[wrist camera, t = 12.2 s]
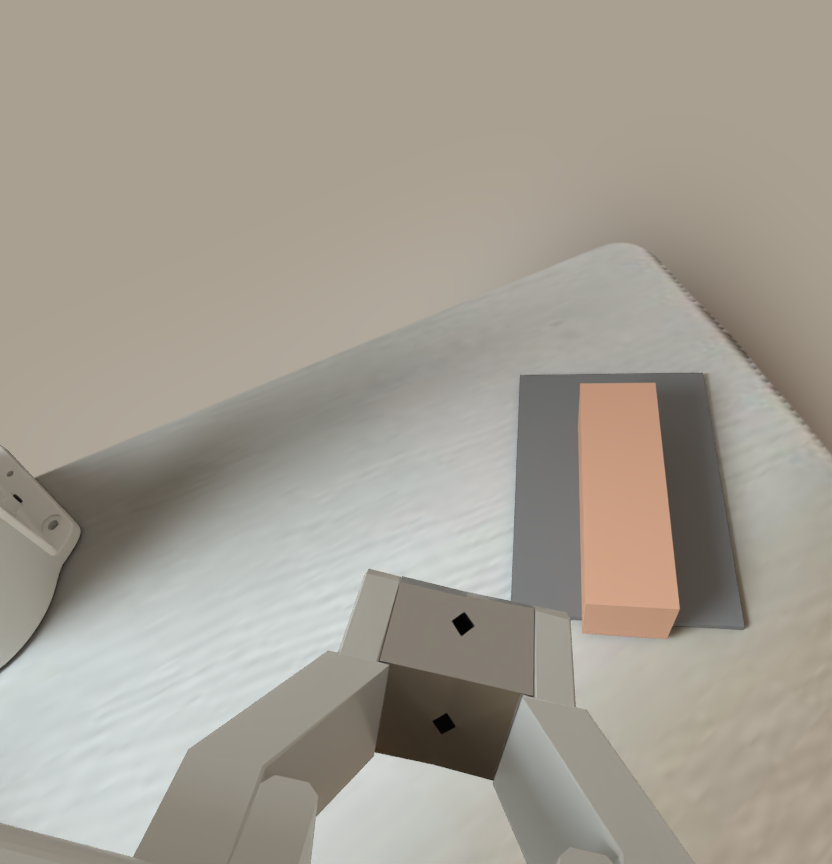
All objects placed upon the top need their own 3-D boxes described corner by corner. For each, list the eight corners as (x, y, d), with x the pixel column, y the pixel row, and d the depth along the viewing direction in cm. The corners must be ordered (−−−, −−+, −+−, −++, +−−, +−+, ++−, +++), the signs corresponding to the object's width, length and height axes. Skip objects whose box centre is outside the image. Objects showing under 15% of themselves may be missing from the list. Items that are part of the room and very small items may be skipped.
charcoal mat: (742, 629, 40) (744, 627, 40) (510, 616, 43) (510, 613, 43) (701, 376, 51) (702, 372, 51) (520, 379, 54) (520, 375, 54)
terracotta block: (679, 609, 36) (655, 382, 45) (585, 604, 37) (580, 383, 46) (667, 638, 40) (646, 425, 49) (582, 633, 41) (577, 425, 50)
